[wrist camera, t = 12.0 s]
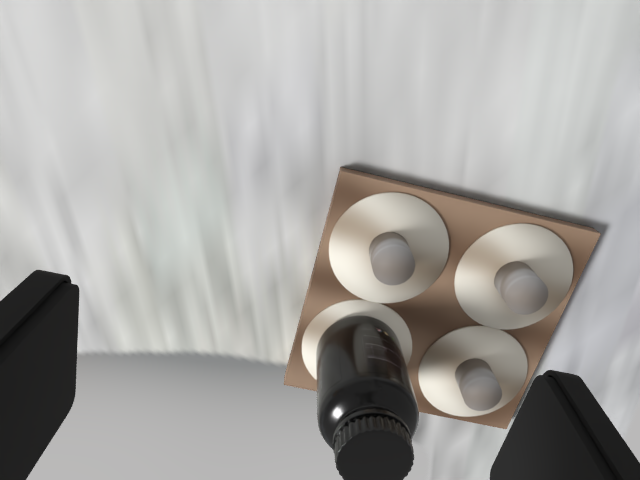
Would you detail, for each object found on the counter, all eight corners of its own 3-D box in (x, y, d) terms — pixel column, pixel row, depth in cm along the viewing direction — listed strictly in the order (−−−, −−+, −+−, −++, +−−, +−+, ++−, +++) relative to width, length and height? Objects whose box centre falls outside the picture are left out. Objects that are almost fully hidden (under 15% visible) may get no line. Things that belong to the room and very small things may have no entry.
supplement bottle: (368, 395, 44) (385, 519, 33) (300, 358, 43) (294, 475, 32) (417, 337, 42) (453, 449, 31) (347, 296, 40) (358, 398, 29)
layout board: (340, 166, 38) (343, 182, 34) (592, 227, 40) (622, 249, 36) (284, 375, 45) (281, 408, 41) (501, 419, 47) (518, 455, 43)
